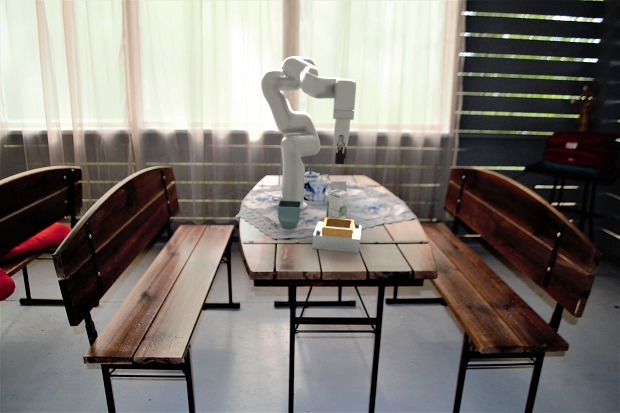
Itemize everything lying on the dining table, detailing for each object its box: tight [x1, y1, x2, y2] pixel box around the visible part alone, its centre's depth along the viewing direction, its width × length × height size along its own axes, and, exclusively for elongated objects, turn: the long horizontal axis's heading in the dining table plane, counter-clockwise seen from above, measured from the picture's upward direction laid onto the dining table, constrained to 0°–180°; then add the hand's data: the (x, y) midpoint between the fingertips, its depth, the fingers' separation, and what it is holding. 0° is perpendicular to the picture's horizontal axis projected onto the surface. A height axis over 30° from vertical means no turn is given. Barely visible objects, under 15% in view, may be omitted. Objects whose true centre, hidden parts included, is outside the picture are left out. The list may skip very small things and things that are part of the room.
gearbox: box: [311, 216, 362, 254], centre depth 159 cm, size 16×14×8 cm
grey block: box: [329, 180, 348, 192], centre depth 206 cm, size 4×7×10 cm, turn 99°
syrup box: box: [325, 189, 349, 219], centre depth 174 cm, size 6×6×14 cm
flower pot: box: [276, 200, 302, 229], centre depth 174 cm, size 9×9×9 cm
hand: (340, 161), depth 168 cm, fingers open, 9 cm apart
